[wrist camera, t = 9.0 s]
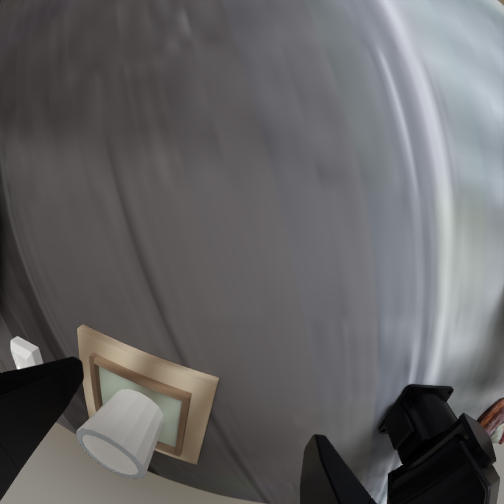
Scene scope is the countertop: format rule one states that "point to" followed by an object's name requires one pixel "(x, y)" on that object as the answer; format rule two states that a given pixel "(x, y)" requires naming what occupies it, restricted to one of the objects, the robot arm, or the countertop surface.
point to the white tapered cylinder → (123, 433)
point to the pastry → (494, 421)
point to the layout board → (149, 389)
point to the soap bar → (25, 353)
